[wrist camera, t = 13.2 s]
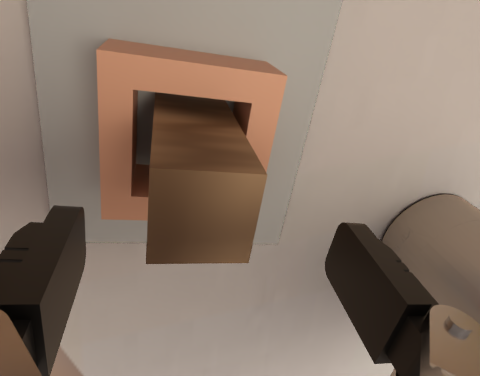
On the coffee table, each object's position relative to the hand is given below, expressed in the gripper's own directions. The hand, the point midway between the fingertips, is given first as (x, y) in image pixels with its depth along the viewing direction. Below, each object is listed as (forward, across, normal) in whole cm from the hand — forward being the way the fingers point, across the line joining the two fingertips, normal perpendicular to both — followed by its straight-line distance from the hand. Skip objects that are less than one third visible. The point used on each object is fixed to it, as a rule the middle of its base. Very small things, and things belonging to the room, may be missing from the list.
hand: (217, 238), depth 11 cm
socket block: (+13, +1, 0) cm, 13 cm away
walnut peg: (+12, 0, 0) cm, 12 cm away
